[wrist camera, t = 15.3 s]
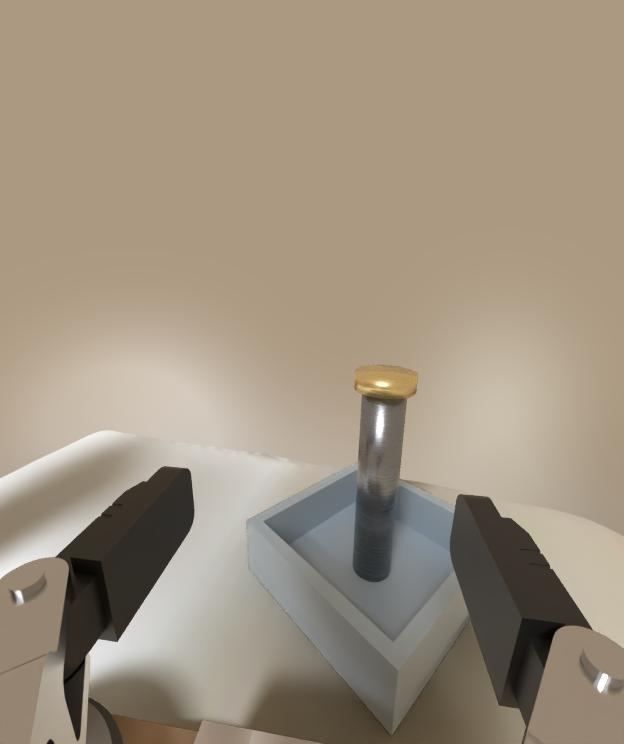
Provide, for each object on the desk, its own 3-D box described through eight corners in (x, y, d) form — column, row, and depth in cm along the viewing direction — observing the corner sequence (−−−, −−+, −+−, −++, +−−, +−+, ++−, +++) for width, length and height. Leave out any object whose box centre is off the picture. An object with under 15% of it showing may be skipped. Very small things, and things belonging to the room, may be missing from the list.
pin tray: (248, 568, 29) (246, 520, 28) (359, 497, 39) (361, 459, 38) (391, 736, 19) (398, 670, 17) (495, 580, 28) (505, 531, 27)
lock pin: (334, 563, 29) (342, 371, 24) (367, 538, 31) (379, 361, 27) (376, 599, 25) (394, 386, 21) (407, 567, 28) (430, 373, 24)
